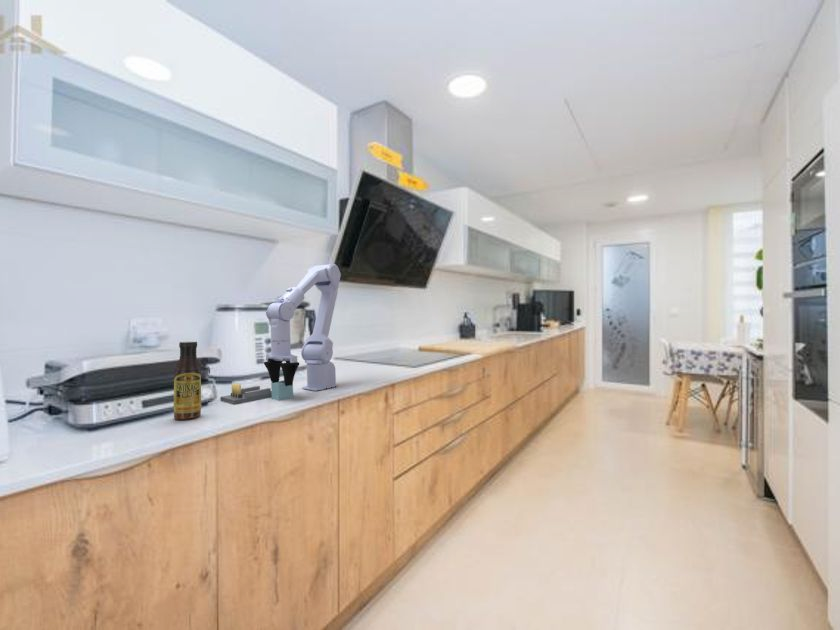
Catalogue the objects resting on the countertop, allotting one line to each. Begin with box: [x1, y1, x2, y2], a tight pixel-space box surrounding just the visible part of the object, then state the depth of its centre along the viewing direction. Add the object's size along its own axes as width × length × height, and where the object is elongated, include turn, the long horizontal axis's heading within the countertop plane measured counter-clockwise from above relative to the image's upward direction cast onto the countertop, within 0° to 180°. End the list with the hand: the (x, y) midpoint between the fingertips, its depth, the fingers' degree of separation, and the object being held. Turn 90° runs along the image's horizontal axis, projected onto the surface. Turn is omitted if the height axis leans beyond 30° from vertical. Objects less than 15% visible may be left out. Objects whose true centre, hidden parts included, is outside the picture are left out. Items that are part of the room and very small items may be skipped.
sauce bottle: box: [173, 340, 202, 421], centre depth 104 cm, size 6×6×20 cm
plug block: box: [270, 379, 294, 402], centre depth 124 cm, size 5×4×6 cm
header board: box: [219, 382, 272, 406], centre depth 126 cm, size 14×9×5 cm, turn 141°
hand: (281, 384), depth 124 cm, fingers open, 7 cm apart
